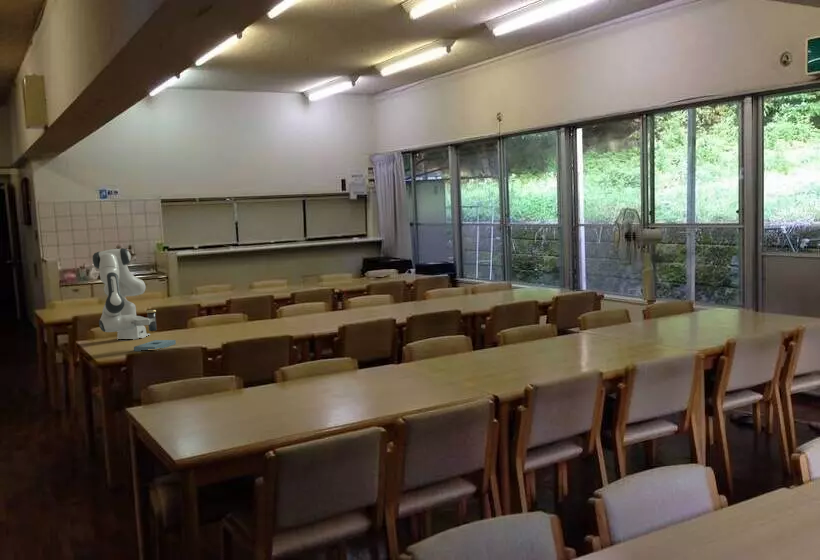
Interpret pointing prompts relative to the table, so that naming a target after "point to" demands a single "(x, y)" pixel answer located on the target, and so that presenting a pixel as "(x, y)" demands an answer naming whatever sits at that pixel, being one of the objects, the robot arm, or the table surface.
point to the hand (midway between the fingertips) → (153, 319)
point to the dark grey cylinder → (150, 315)
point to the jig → (155, 345)
